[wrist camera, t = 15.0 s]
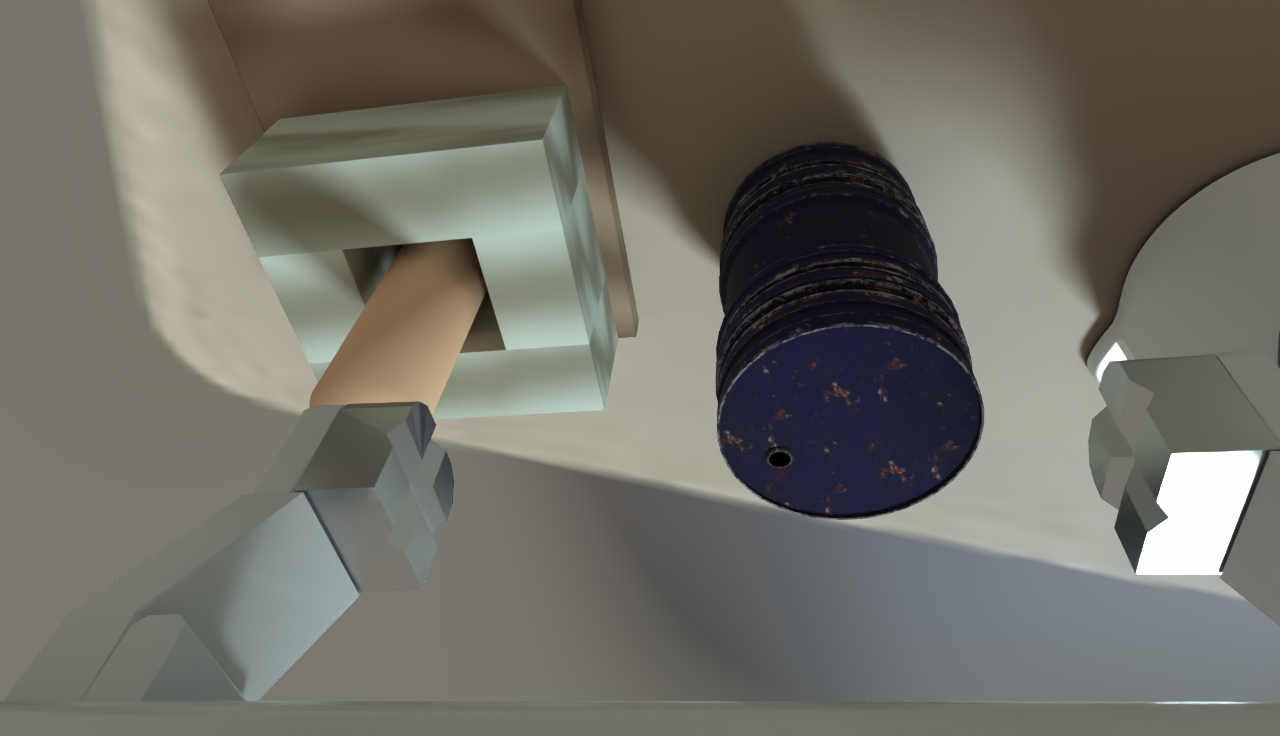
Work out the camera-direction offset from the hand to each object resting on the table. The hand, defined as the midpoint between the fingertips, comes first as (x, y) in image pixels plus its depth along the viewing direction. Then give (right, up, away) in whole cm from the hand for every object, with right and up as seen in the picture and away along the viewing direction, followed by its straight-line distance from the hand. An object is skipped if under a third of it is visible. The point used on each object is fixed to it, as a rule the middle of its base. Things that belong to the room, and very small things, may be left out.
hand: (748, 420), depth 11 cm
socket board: (-11, +12, +31) cm, 35 cm away
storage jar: (+8, +8, +33) cm, 35 cm away
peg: (-10, +7, +33) cm, 36 cm away
